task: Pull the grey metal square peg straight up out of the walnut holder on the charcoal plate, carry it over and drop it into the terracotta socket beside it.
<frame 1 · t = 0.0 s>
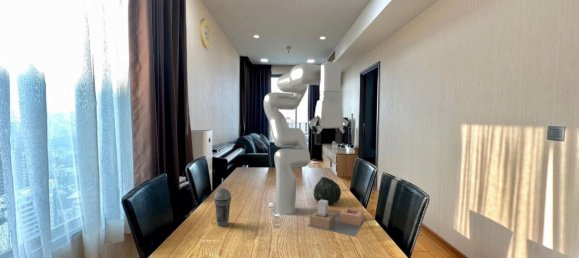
hand: (328, 144, 99), 37 cm above the table, tool pointing down, fingers open, 9 cm apart
peg: (322, 224, 115), point 1 cm above the table, touching dock plate
dock plate: (337, 225, 117), on the table
beverage cup: (222, 224, 116), on the table
squash: (327, 203, 147), on the table
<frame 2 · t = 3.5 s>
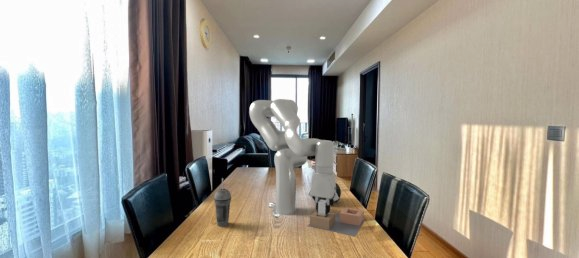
hand: (322, 212, 114), 7 cm above the table, tool pointing down, fingers closed on peg, 3 cm apart
peg: (322, 224, 115), point 2 cm above the table, touching dock plate, gripper
everything else where it was.
when the fingers open (8 cm above the table, at t = 9.2 s): peg stays where it is, resting on dock plate.
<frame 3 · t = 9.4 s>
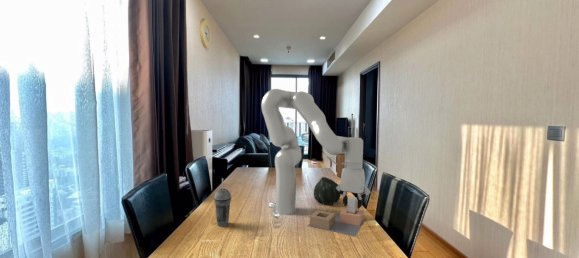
hand: (352, 206, 119), 8 cm above the table, tool pointing down, fingers open, 5 cm apart
peg: (351, 220, 119), point 2 cm above the table, touching dock plate
everything else where it was.
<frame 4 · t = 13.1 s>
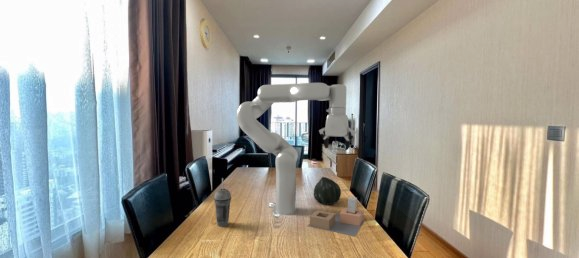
hand: (336, 148, 125), 32 cm above the table, tool pointing down, fingers open, 9 cm apart
nothing on the table moved.
at the end: peg 0.0 cm from the target spot on the dock plate, point 1.5 cm above the dock plate's base; peg tilted 0°; the gripper is holding nothing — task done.
